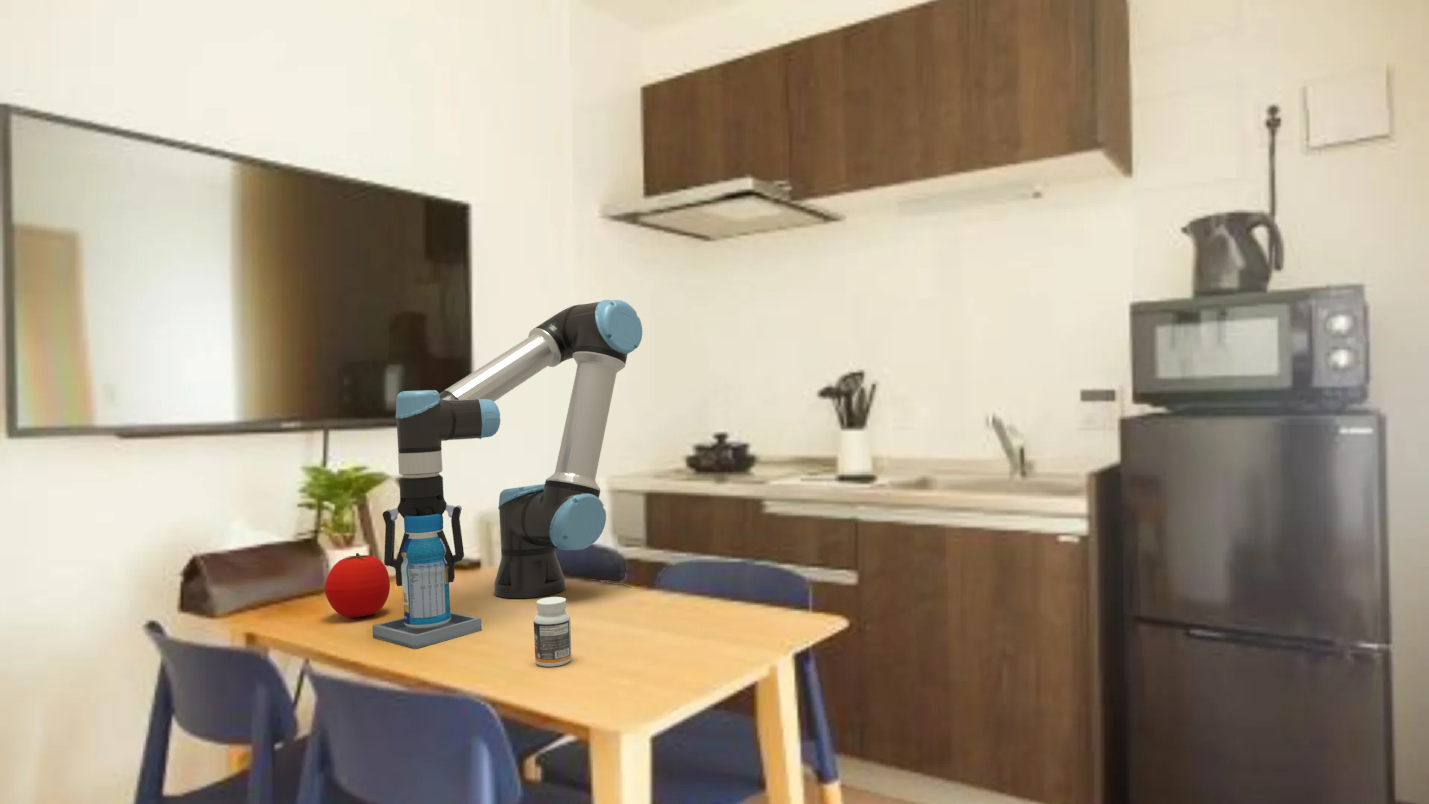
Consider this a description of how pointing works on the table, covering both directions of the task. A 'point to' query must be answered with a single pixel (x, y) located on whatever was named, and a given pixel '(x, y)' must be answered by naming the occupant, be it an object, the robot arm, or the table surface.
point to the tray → (426, 631)
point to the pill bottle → (552, 632)
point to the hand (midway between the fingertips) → (426, 601)
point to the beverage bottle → (425, 573)
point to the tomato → (357, 586)
